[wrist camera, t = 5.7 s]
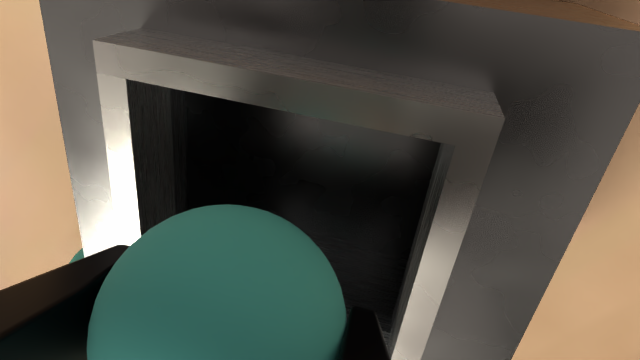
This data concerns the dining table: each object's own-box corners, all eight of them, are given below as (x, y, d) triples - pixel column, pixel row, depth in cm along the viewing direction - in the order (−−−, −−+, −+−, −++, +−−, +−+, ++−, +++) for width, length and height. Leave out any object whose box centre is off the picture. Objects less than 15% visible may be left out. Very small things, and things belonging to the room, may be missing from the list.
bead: (381, 191, 8) (338, 388, 4) (345, 347, 10) (297, 571, 6) (171, 144, 8) (-20, 284, 5) (178, 301, 10) (45, 481, 7)
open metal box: (575, 3, 12) (726, 55, 6) (469, 279, 17) (490, 469, 11) (172, -58, 14) (-44, -68, 7) (182, 209, 18) (55, 337, 12)
